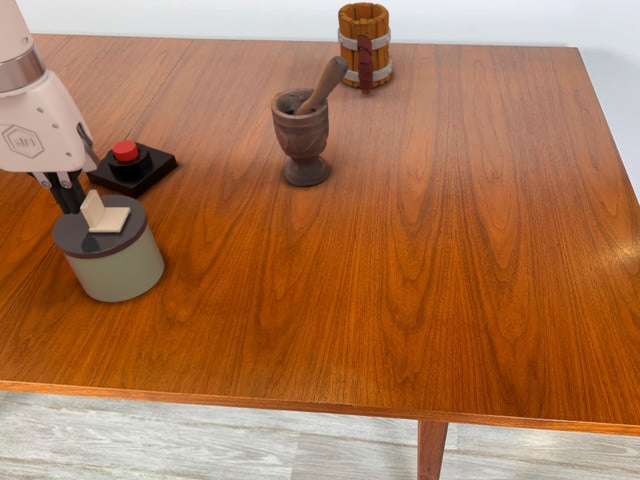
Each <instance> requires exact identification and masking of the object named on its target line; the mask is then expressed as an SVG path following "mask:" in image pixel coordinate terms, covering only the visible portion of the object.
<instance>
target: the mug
mask: <svg viewBox="0 0 640 480" xmlns="http://www.w3.org/2000/svg"><path fill="white" fill-rule="evenodd" d="M337 18H338V27H337V41H338V43H339V44H340V46H339V48H340V51H339V53H340V57H342V58H344V59H345V60H346V61H347V63H348V71H347V73H346V75H345V76H344V78H343V79H342V80H341V82H342V83H343V84H345V85H347V86H349V87H351V88H352V87H353V88H356V89H358V88H359V89H361V93H362V94H365V95H366V94H367V95H368V94H370V93H371V90H374V88H378V87H379V86H380V87H381V86H382V85H385V83H388V82H389V81H390V79H391V77H392V72H393V61H392V58H391V56H390V51H389V49H390V44H389V43H390V42H391V40H392V30H391V27H390V12H389V10H388V9H387V8H386V7H385V6H383V5H381V4H379V3H374V2H366V1H365V2H364V1H362V2H361V1H360V2H354V3H347V4H345V5H343V6H342V7H340V9H338V11H337Z"/></svg>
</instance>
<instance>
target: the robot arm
mask: <svg viewBox="0 0 640 480" xmlns="http://www.w3.org/2000/svg"><path fill="white" fill-rule="evenodd" d="M45 63H46V62H44V59H43V56H42V55H41V53H40V51H39V48H38V46H37V44H36V42H35V39H34V38H33V36H32V33H31V31H30V29H29V27H28V25H27V22H26V19H24V16H23V13H22V11H21V10H20V7H19V5H18V3H17V0H0V170H2V171H6V172H11V173H21V174H27V175H29V176H30V177H31V178H33V179H35V180H37V181H38V183H39V184H40V186H42V187H43V188H44V189H48V190H49V191H50V193H51V195H52V196H53V198H54V201H55V202H56V204H57V205H58V206H59V208H60V210H61V211H62V214H70V213H72V214H79V212H80V210H81V209H80V207H81V205H82V203H83V202H84V200H85V198H86V196H87V195H86V192H85V190H84V188H83V186H82V184H81V182H80V180H79V176H80V175H81V174H83V173H85V174H86V172H89V171H94V170H97V168H98V166H99V165H100V163H101V159H100V158H99V156H98V155H97V154H96V152H95V151H94V149H95V142H94V138H93V136H92V134H91V131H90V128H89V127H88V125H87V123H86V120H85V118H84V117H83V115H82V114H81V113H82V112H81V111H80V109H79V108H78V106H77V104H76V103H75V100H74V99H73V98H72V95H71V94H70V93H69V91H68V90H67V88H66V86H65V85H64V83H63V82H62V81H61V80H60V78H59V77H58V75H57V74H56V72H55V71H54V70H51V69H48V67H47V65H46V64H45Z"/></svg>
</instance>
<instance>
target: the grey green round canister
mask: <svg viewBox="0 0 640 480" xmlns="http://www.w3.org/2000/svg"><path fill="white" fill-rule="evenodd" d="M99 197H100V199H101V201H102V203H103V206H104V207H129V208H130V212H129V214H128V216H127V218H126V220H125V222H124V224H123V226H122V229H121V231H120V232H89V229H90V227H89V225H88V223H87V221H86V219H85V217H84V215H83V213H82V211H81V210H80V212H79V214H72V213H70V214H64V213H62V214H61V215H60V216H59V217H58V219H57V220H56V222H55V223H54V226H53V228H52V240H53V242H54V244H55V246H56V247H57V248H58V250H59V251H60V252H61V253H62V255H63V256H64V258H65V259H66V261H67V263H68V264H69V266H70V268H71V270H72V272H73V273H74V275H75V277H76V278H77V280H78V282H79V283H80V286H81V287H82V289H83V290H84V292H85V293H86V295H88V296H89V297H91V298H92V299H93V300H96V301H99V302H105V303H106V302H107V303H117V302H123V301H127V300H132V299H134V298H137V297H138V296H140V295H143V294H144V293H146V292H147V291H149V290H150V289H151V288H153V287H154V286H155V285H156V284H157V283H158V282H159V280H160V279H161V277H162V275H163V273H164V270H165V261H164V257H163V255H162V253H161V249H160V248H159V245H158V242H157V241H156V238H155V236H154V232H153V230H152V228H151V225H150V222H149V220H148V219H149V217H148V214H147V211H146V209H145V207H144V205H143V204H142V203H141V202H140V201H139V200H137V199H134V198H131V197H129V196H126V195H123V194H108V195H107V194H106V195H99Z"/></svg>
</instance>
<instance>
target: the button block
mask: <svg viewBox="0 0 640 480" xmlns="http://www.w3.org/2000/svg"><path fill="white" fill-rule="evenodd" d="M128 140H129V139H128ZM129 141H131V140H129ZM133 142H134V143H135V144H136V147H137V149H138V152H139V155H138V156H137V157H136V158H135V159H132V160H129V161H118V160H117V159H116V157H115V155H114V152H113V150H112V148H111V149H109V150H108V151H107V152H106V155H105V157H104V158H102V159H100V161H101V163H100V165H99V166H98V168H97V170H94V171H89V172H85V174H86V176H87V178H88V180H89V182H90V183H91V184H94V185H97V186H99V187H103V188H105V189H108V190H110V191H113V192H115V193H118V194H120V195H122V196H127V197H130V198H133V199H135V200H137V199H138V198H139V197H141V196H142V195H144V194H145V193H146V192H147V191H149V190H150V189H151V188H152V187H153V186H155V185H156V184H157V183H158V182H160V181H161V180H162V179H164V178H165V177H166V176H167V175H169V174H170V173H171V172H172V171H174V170H175V169H176V168H177V167H178V166H179V165H178V162H177V159H176V155H175V154H172V153H170V152H166V151H163V150H160V149H157V148H154V147H151V146H148V145H146V144H144V143H140V142H138V141H133Z"/></svg>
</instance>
